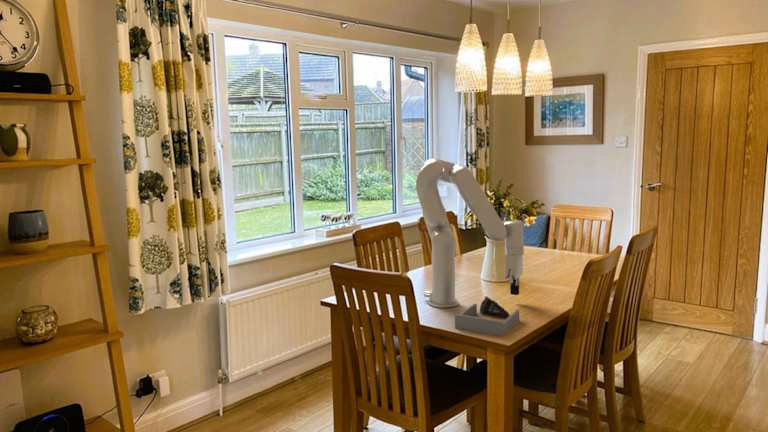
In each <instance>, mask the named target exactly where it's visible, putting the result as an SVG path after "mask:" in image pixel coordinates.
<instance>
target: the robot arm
mask: <svg viewBox="0 0 768 432" xmlns="http://www.w3.org/2000/svg"><path fill="white" fill-rule="evenodd" d="M439 181H441V182H444V183H447V184H452V185H454V187H455V188H456V190H457V191H458V193H459V195H460V196H461V198H462V199H463V202H464V203H465V204H466V206H467V208H468V209H469V211H471V213H472V214H473V215H474V216H475V217H476V219H477V220H478V221H479V223H480V224H481V226H482V227H483V229H484V233H485V234H486V235H487V237H488V238H489V239H490V241H493V242H494V243H500V242H503V241H504V255H505V260H504V278H505V280H507V279H508V283H509V287H510V289H509V291H510V295H512V296H513V295H514V296H518V295H519V294H520V278H521V276H522V275H523V272H524V270H523V269H524V267H523V266H524V264H523V263H524V262H523V255H524V253H525V247H524V246H525V245H524V244H525V243H524V242H525V241H524V239H525V238H524V222H523V221H521V220H519V219H518V220H517V219H512V220H502V219H501V217H500V216H499V214H498V213H497V211H496V210H495V208H494V207H493V205H492V203H491V201H490V199H489V198H488V196H487V195H486V193H485V192H484V190H483V188H482V187H481V185H480V183H479V181H478V180H477V179H476V177H475V176H474V174H473V172H472V171H471V169H470V168H468V167H467V166H465V165H463V164H458V163H454V162H450V161H446V160H443V159H440V158H439V159H438V158H435V157H433V158H429V159H427V160H426V161H425V162H424V163H423V165H422V167H421V169H420V170H419V172H418V174H417V177H416V182H415V190H416V194H417V198H418V201H419V204H420V206H421V210H422V216H423V219H424V223H425V225H426V226H425V227H426V228H427V232H428V235H429V237H430V240H431V291H428V290H424V292H423V296H424V298H429V299H428V305H429V306H431V307H434V308H442V309H446V308H454V307H457V306H458V305H459V304H460V301H459V300H458V299H457V298H456V246H457V245H456V244H457V243H456V241H457V239H456V236H455V233H454V232H453V231H452V228H451V224H450V222H449V219H448V216H447V210H446V208H445V206H444V204H443V201H442V198H441V195H440V191H439V188H438V187H439V186H438V183H439Z"/></svg>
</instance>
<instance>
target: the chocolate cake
mask: <svg viewBox="0 0 768 432" xmlns="http://www.w3.org/2000/svg"><path fill="white" fill-rule="evenodd" d="M479 314H480V315H481V316H486V317H490V318H497V319H498V318H499V319H503V320H506V319H507V318H508V317H509V316H510V315H511V314H509V312H508V311H507V310H506V309H505V308H504V307H503V306H501V305H499V303H498V302H496V301H495V300H493V299H491V298H490V297H488V296H485V295H484V299H483V300H482V301H481V303H480V307H479Z"/></svg>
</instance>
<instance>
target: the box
mask: <svg viewBox="0 0 768 432" xmlns="http://www.w3.org/2000/svg"><path fill="white" fill-rule="evenodd" d="M477 314H478V303H473V304H471V305H470V306H469V307H467V308H466V309H465V310H463V311H461V312H460V313H459V314H458V313H455V314H454V329H458V330H464V331H470V332H476V333H477V332H478V333H482V334H489V335H493V336H494V335H495V336H500V337H503V336H504V335H505V334H507V332H509V331H510V330H511V329H512V328H513V327H514V326H515V325H516V324H517V323H518V322H519V321H520V309H516V310H515V311H513V312H512V313H511V314H509V315H510V316H509V317H508V318H507V319H504V320H503V321H502V320H496V319H490V318H484V317H479V316H478V317H477V316H476V315H477Z"/></svg>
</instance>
